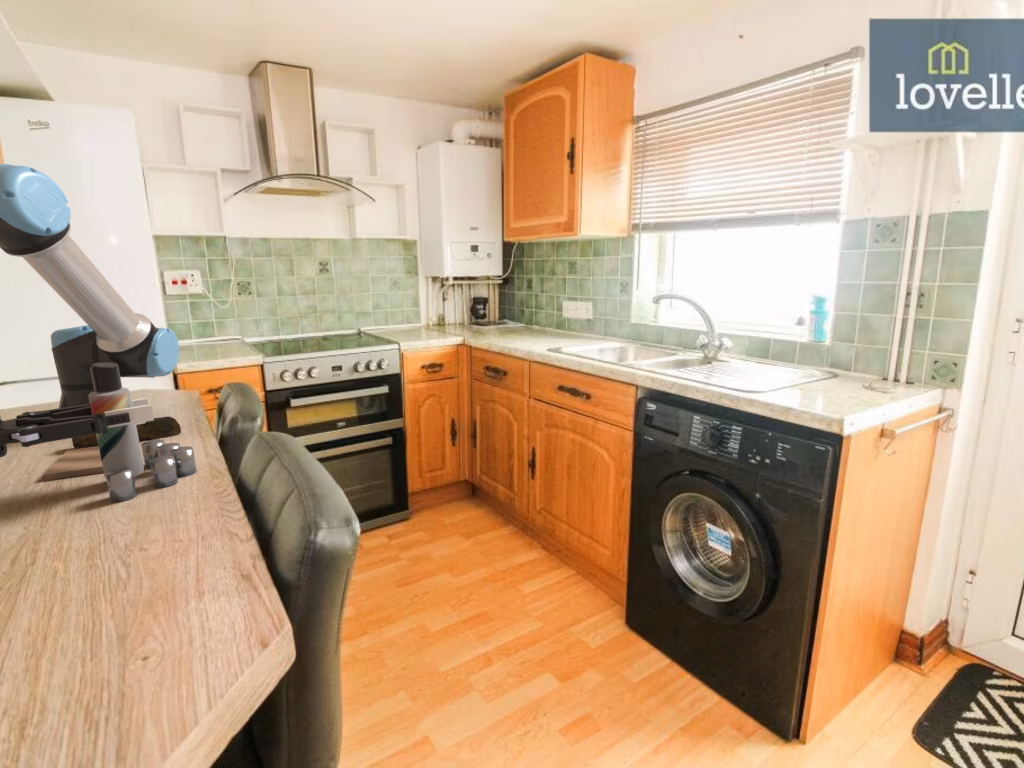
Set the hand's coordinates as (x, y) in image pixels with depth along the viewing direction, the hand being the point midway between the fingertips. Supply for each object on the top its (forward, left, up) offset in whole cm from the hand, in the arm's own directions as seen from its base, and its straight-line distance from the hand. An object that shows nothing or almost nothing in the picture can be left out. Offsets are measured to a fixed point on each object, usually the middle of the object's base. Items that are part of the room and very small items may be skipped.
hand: (149, 408), depth 96 cm
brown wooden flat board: (-13, -13, -12) cm, 22 cm away
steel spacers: (+2, 0, -12) cm, 12 cm away
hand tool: (-25, -9, -13) cm, 30 cm away
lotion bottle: (+1, -5, -11) cm, 12 cm away
